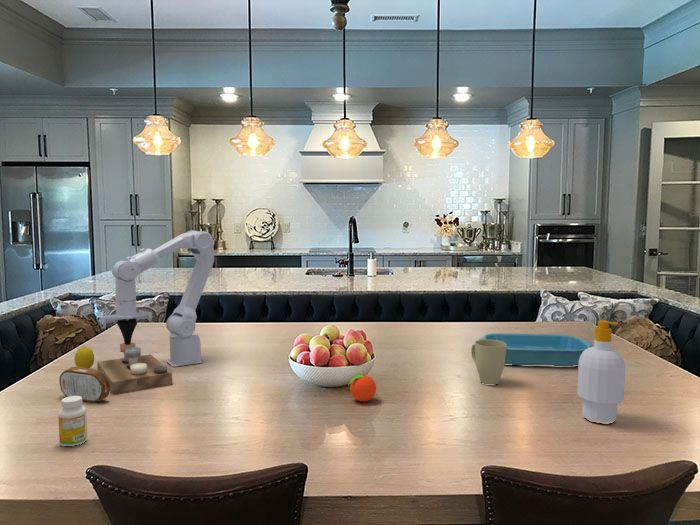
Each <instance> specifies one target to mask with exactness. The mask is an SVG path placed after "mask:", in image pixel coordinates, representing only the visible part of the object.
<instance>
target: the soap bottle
mask: <svg viewBox="0 0 700 525" xmlns="http://www.w3.org/2000/svg"><path fill="white" fill-rule="evenodd" d="M610 325H619V322H615V321H608V320H602V319H601V320H597V326H595V327H594V338H593V341H594V344H593V346H592V347H590V348H588V349H586V350H584V351H583V352H582V354H581V356H580V358H579V365H578V367H577V369H578V371H577V389H576V390H577V391H576V392H577V396H578V397H579V398H581V399H582V408H581V409H582V410H581V411H582V413H581V414H582V415H583V416H584V417H585V418H588V419H590V420H594V421H602V422H610V421H614V420H616V421H617V415H618V414H617V413H618V404H621V403H622V402H624V400H625V381H626V380H625V379H626V364H625V360H624V358H623V356H622V354H621V353H620V352H618V351H617V350H615V349H614V348H611V347H612V331H613V330H612V328H611V327H610ZM583 416H582V417H583Z"/></svg>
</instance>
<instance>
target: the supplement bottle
mask: <svg viewBox="0 0 700 525" xmlns="http://www.w3.org/2000/svg"><path fill="white" fill-rule="evenodd" d="M60 402H61V409H59V411H58V414H57V417H58V418H57V419H58V435H59V436H58V437H59V438H58V439H59V445H60V446H61V447H64V446H72V447H76V446H75V445H77V446H80V445H83V444H85V443H86V442H87V441H88V423H87V422H88V421H87V409H86V407H85V406H84V405H83V401H82V397H81V396H70V397H66V396H65V397H64V398H62V399H61V401H60ZM86 440H87V441H86ZM85 441H86V442H85ZM84 442H85V443H84ZM82 443H83V444H82ZM79 444H80V445H79Z"/></svg>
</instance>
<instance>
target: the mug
mask: <svg viewBox="0 0 700 525" xmlns="http://www.w3.org/2000/svg"><path fill="white" fill-rule="evenodd" d="M506 346H507V344H506V343H505V342H502V341H498V340H487V339H486V340H479V339H478V340H475V341H474V343H473V344H472V346H471V350H470V351H471V357H472V360H473V362H474V364H475V366H476V369H477V370H476V371H477V373H478V376H479V380H480V383H481V382H482V383H484V384H497V383H498V384H499V382H500V379H501V378H502V377H501V376H502V373H503V371H504V369H505V365H504V364H505V356H506ZM482 383H481V384H482ZM484 384H483V385H484Z"/></svg>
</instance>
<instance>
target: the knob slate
mask: <svg viewBox="0 0 700 525" xmlns="http://www.w3.org/2000/svg"><path fill="white" fill-rule="evenodd" d="M141 350H142V349H141V347H138V346H135V347H131V348H126V349H125V357H128V358H129V367H130V366H131V365H132V364H136V363H138V362H137V357H138V356H142V352H141Z"/></svg>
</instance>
